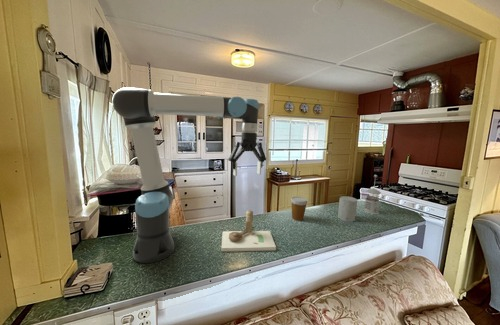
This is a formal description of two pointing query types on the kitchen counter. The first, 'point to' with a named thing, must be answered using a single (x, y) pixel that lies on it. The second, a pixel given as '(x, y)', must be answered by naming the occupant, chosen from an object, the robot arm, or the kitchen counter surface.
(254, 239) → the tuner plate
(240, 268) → the kitchen counter surface
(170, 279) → the kitchen counter surface
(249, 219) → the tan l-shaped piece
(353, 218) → the grey cylinder
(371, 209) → the french press
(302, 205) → the disposable coffee cup
